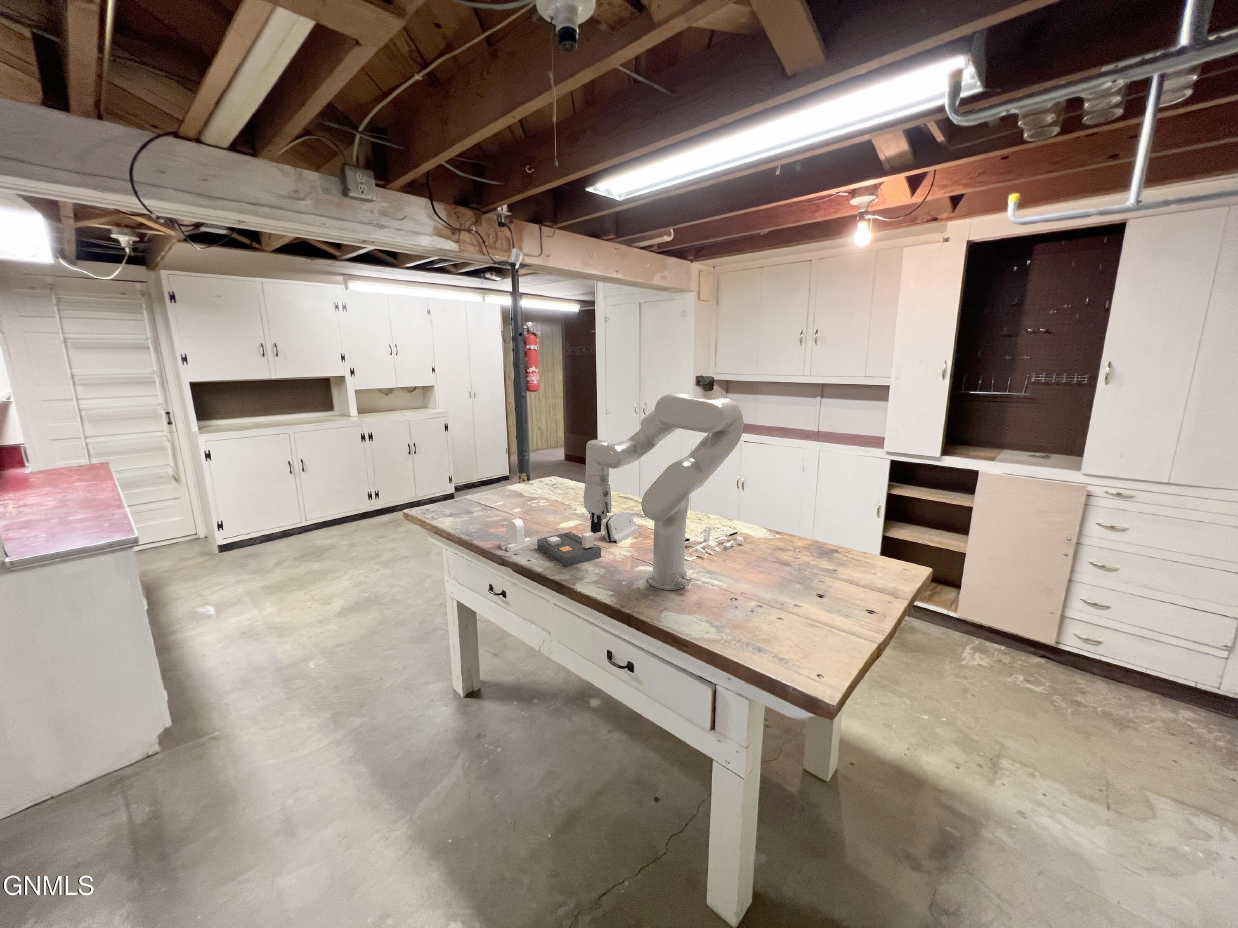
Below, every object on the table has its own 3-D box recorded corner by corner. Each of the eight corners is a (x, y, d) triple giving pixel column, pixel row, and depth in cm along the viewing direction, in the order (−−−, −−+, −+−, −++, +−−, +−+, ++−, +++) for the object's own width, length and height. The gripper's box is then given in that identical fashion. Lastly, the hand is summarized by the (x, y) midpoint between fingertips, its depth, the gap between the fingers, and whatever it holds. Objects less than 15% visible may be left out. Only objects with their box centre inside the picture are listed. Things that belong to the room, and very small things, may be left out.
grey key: (560, 545, 167) (560, 539, 167) (552, 548, 165) (552, 541, 165) (555, 542, 170) (555, 536, 169) (547, 545, 168) (547, 538, 167)
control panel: (601, 557, 164) (601, 547, 163) (566, 567, 155) (566, 557, 154) (570, 540, 179) (570, 531, 178) (537, 548, 171) (537, 539, 170)
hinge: (617, 544, 176) (609, 518, 175) (607, 545, 178) (599, 520, 178) (639, 530, 189) (632, 507, 189) (630, 532, 192) (623, 508, 192)
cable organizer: (531, 543, 175) (530, 517, 173) (510, 551, 168) (509, 525, 166) (521, 540, 179) (520, 515, 176) (500, 548, 171) (499, 521, 169)
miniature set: (725, 532, 187) (749, 546, 178) (657, 556, 168) (680, 574, 159) (727, 517, 185) (752, 531, 176) (658, 541, 166) (682, 557, 157)
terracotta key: (573, 556, 161) (572, 549, 161) (564, 558, 159) (564, 551, 159) (567, 552, 164) (567, 546, 164) (558, 555, 162) (558, 548, 161)
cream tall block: (593, 546, 163) (593, 534, 162) (585, 548, 161) (585, 536, 160) (589, 544, 165) (589, 532, 164) (582, 546, 163) (581, 534, 162)
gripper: (620, 482, 150) (618, 536, 154) (593, 472, 161) (592, 523, 165) (601, 485, 145) (599, 541, 149) (575, 474, 157) (574, 527, 161)
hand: (595, 531), depth 157 cm, fingers closed
